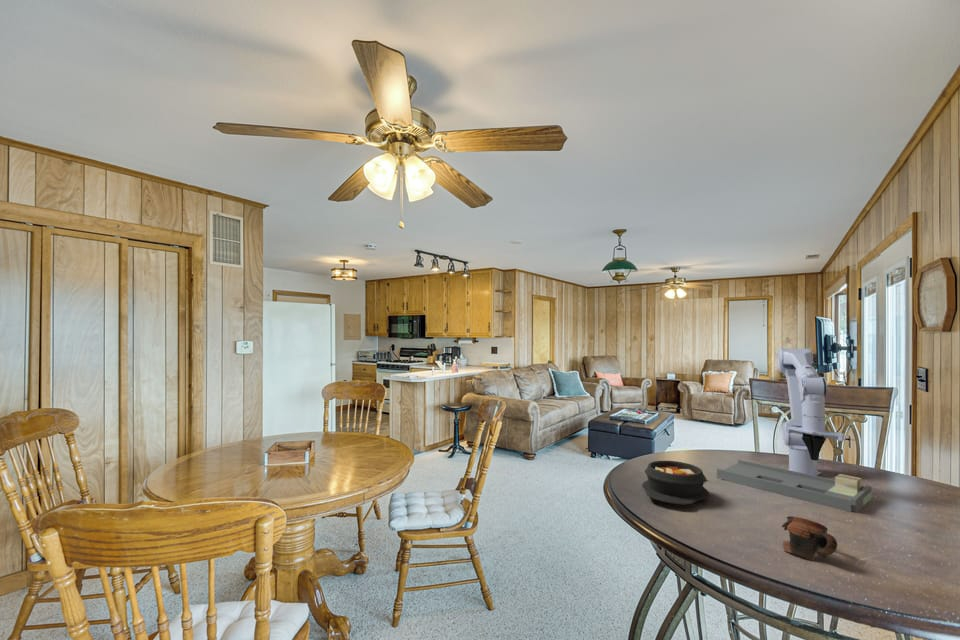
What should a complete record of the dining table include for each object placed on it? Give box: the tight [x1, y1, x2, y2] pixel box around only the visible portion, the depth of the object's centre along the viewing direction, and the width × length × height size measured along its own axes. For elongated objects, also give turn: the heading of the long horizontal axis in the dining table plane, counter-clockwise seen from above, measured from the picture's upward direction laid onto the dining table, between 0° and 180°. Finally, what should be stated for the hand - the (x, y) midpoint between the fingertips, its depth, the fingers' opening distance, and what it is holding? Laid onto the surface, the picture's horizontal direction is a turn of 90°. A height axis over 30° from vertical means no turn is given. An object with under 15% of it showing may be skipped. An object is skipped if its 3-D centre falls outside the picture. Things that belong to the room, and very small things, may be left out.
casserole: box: [641, 460, 711, 506], centre depth 130 cm, size 25×19×8 cm
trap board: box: [716, 459, 873, 513], centre depth 136 cm, size 18×36×4 cm, turn 38°
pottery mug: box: [781, 515, 838, 561], centre depth 95 cm, size 12×10×8 cm
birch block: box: [834, 473, 863, 495], centre depth 127 cm, size 5×5×4 cm
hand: (814, 459), depth 134 cm, fingers closed
